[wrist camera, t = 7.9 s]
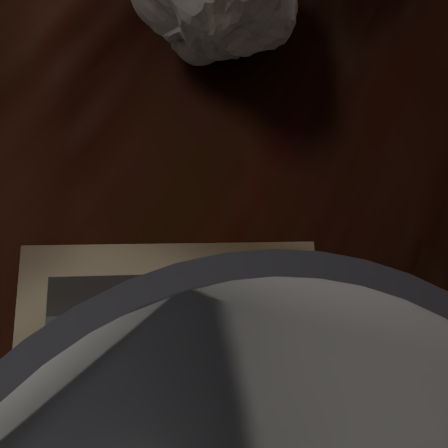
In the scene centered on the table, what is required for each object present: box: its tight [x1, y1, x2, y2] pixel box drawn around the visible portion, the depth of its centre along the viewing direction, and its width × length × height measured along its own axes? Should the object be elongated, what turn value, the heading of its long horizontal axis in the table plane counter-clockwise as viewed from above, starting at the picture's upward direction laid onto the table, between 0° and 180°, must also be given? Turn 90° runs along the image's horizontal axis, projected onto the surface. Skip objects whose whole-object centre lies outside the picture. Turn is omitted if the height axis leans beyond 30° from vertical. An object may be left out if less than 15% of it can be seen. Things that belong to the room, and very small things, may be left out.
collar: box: [12, 242, 315, 349], centre depth 18 cm, size 14×14×4 cm
